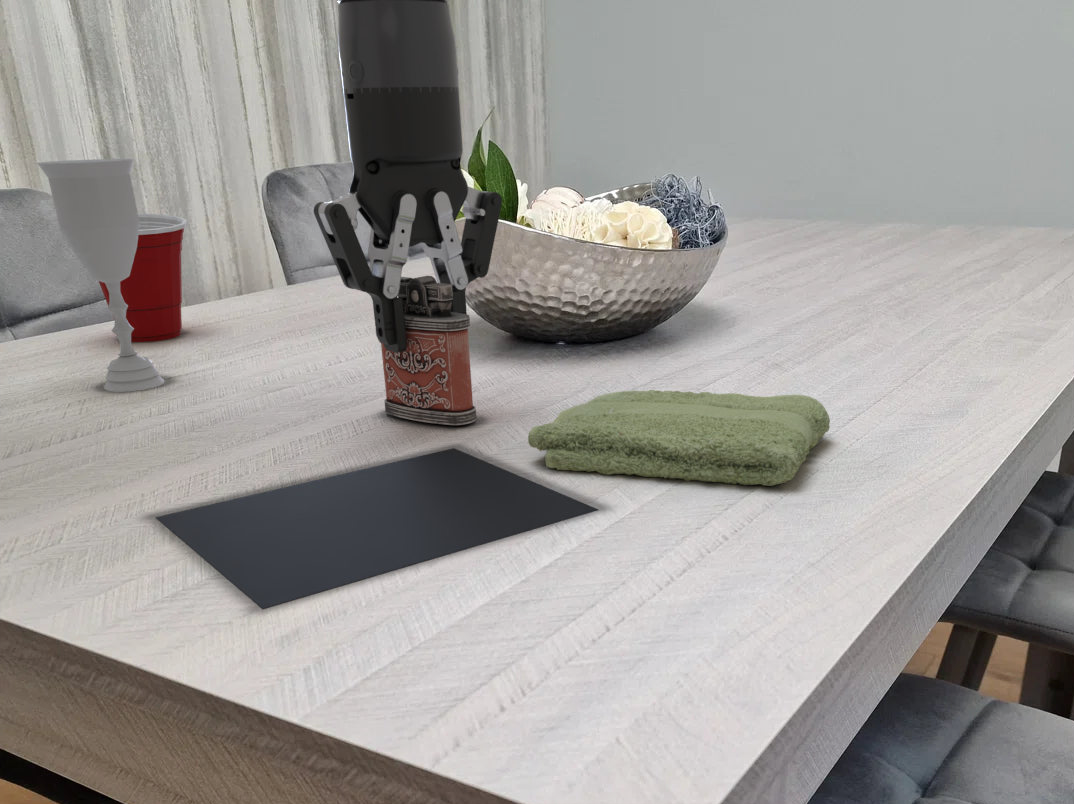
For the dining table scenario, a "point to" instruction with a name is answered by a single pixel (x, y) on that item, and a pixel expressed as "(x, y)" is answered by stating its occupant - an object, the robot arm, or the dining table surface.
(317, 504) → the mat
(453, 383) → the lighter
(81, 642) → the dining table surface
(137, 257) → the plastic cup
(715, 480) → the washcloth
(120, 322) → the chalice
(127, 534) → the dining table surface
